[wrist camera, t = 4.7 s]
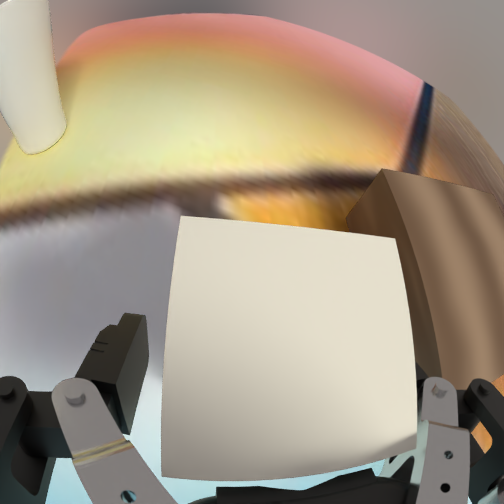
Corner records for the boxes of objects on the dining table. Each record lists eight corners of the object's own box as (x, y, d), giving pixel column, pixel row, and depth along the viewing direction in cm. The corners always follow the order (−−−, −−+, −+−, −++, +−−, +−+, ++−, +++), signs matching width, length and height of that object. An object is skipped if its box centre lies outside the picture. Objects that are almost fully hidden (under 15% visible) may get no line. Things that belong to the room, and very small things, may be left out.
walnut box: (456, 227, 24) (493, 194, 18) (492, 361, 17) (541, 344, 12) (343, 220, 21) (381, 168, 16) (380, 410, 15) (445, 409, 10)
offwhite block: (282, 332, 16) (394, 238, 6) (283, 417, 14) (416, 448, 4) (194, 328, 15) (180, 216, 6) (190, 416, 13) (161, 476, 3)
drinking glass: (53, 110, 22) (27, -10, 9) (87, 124, 21) (62, -22, 8) (7, 151, 19) (-40, 29, 6) (34, 172, 18) (-23, 21, 5)
